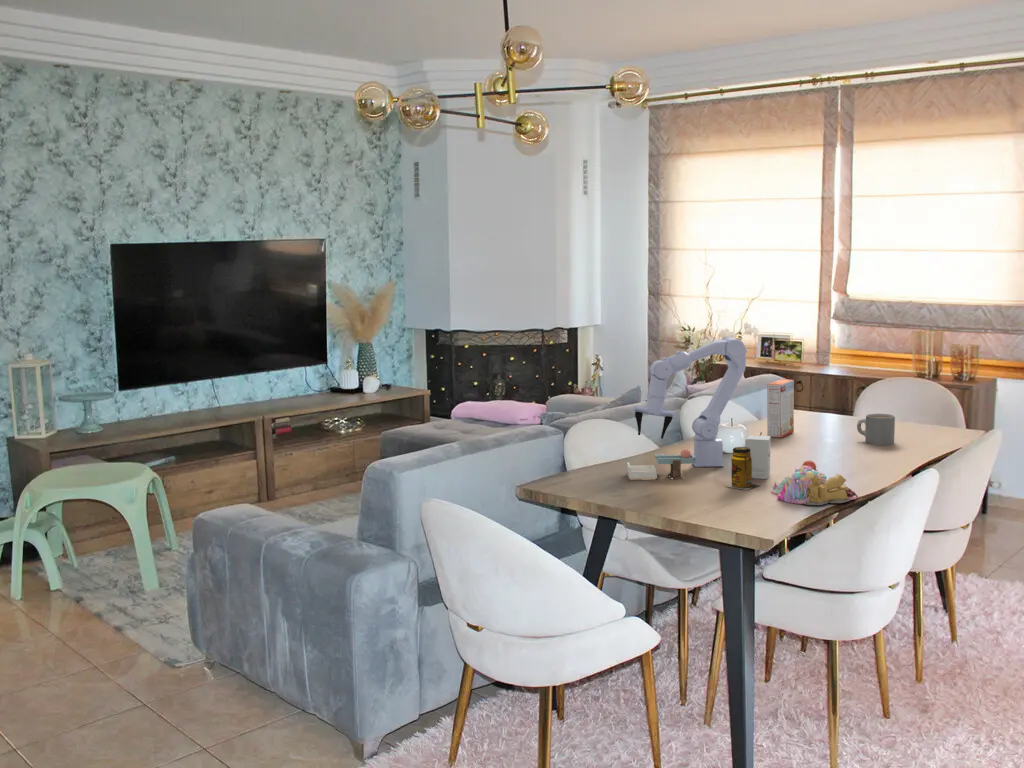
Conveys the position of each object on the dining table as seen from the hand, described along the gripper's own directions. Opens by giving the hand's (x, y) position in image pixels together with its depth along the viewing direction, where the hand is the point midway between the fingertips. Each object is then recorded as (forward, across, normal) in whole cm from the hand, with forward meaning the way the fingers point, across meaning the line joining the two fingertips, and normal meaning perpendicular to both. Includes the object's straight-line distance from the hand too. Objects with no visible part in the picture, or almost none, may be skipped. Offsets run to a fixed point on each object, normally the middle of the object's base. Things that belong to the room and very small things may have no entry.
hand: (650, 436), depth 333 cm
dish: (+11, -1, -14) cm, 18 cm away
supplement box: (+6, +36, -10) cm, 38 cm away
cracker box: (+1, +48, +61) cm, 78 cm away
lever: (+5, +9, -9) cm, 14 cm away
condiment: (+7, +30, -24) cm, 40 cm away
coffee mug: (-3, +81, +49) cm, 95 cm away
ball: (+2, +12, -13) cm, 18 cm away
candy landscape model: (+5, +49, -35) cm, 60 cm away
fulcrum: (+10, +10, -13) cm, 19 cm away
